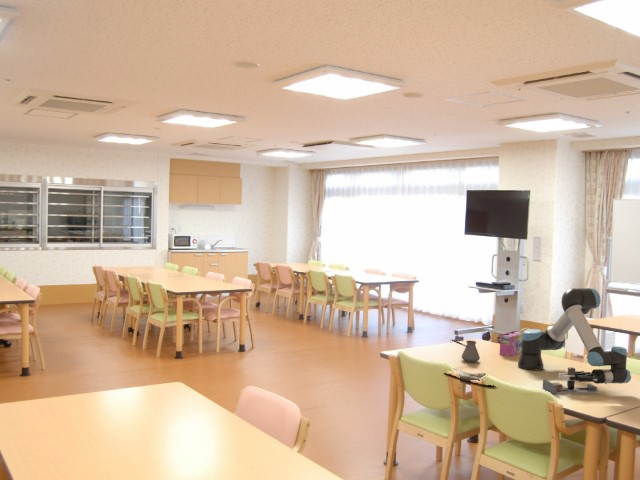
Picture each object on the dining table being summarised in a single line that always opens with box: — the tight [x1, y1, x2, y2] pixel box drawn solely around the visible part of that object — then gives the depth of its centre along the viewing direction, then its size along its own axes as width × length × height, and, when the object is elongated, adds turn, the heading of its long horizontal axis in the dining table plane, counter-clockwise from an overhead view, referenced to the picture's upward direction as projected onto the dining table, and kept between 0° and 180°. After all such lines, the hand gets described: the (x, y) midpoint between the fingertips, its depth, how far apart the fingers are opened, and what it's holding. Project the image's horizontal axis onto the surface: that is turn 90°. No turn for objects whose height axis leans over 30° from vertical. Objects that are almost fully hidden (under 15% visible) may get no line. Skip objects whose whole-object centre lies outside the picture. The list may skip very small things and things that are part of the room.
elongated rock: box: [454, 368, 487, 382], centre depth 338 cm, size 35×5×10 cm
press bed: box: [552, 383, 599, 395], centre depth 317 cm, size 26×11×4 cm, turn 98°
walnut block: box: [552, 382, 563, 392], centre depth 316 cm, size 4×4×4 cm
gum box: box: [499, 330, 523, 357], centre depth 410 cm, size 24×8×14 cm, turn 137°
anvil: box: [542, 379, 557, 395], centre depth 315 cm, size 2×11×4 cm, turn 8°
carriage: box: [562, 366, 578, 391], centre depth 317 cm, size 9×5×12 cm, turn 98°
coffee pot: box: [449, 339, 481, 364], centre depth 380 cm, size 21×12×15 cm, turn 112°
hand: (561, 376), depth 316 cm, fingers closed on carriage, 4 cm apart
